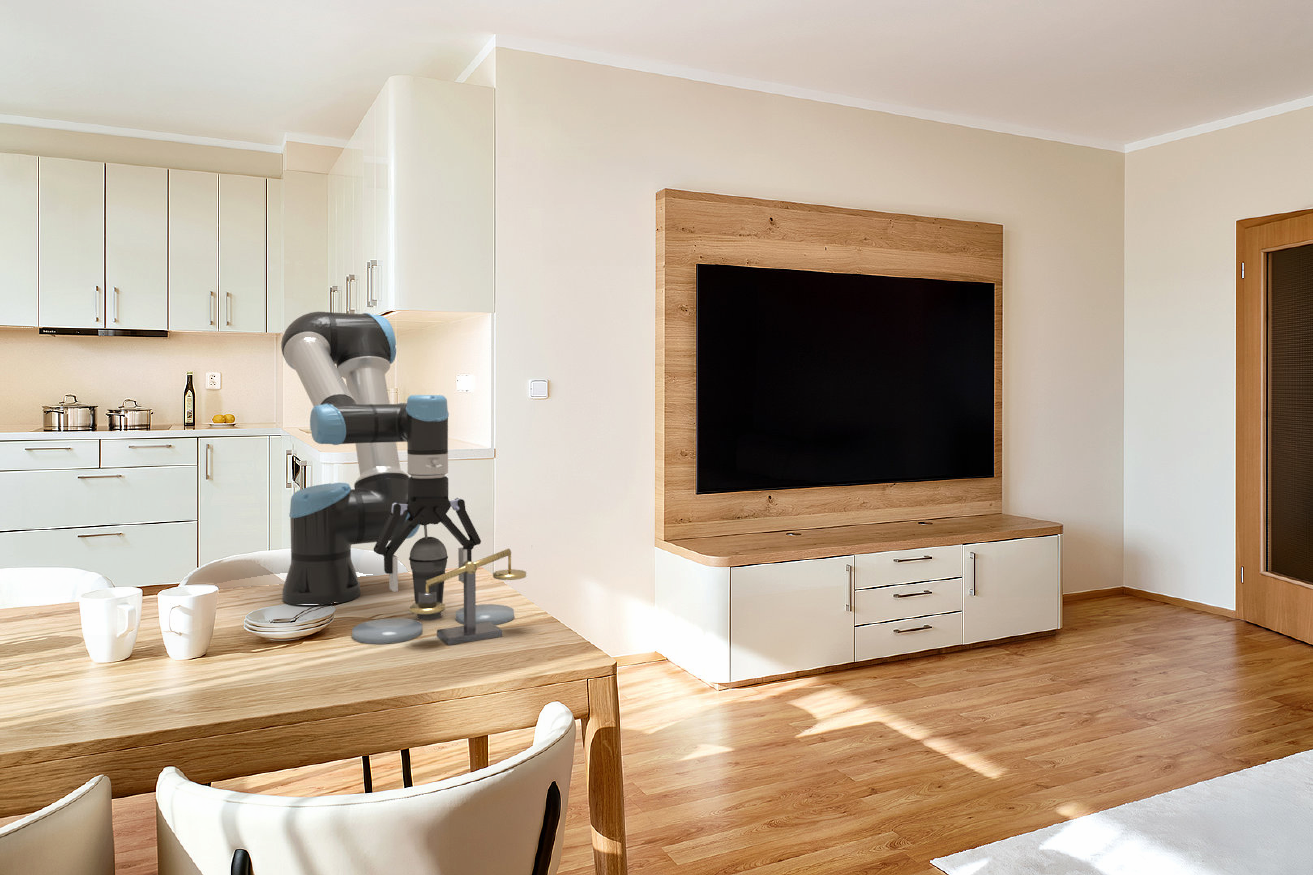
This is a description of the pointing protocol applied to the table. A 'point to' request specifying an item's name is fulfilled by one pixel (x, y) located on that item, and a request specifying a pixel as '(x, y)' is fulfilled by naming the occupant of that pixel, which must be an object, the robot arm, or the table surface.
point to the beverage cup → (428, 568)
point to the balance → (465, 601)
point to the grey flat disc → (387, 631)
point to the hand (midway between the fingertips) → (429, 585)
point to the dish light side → (489, 614)
